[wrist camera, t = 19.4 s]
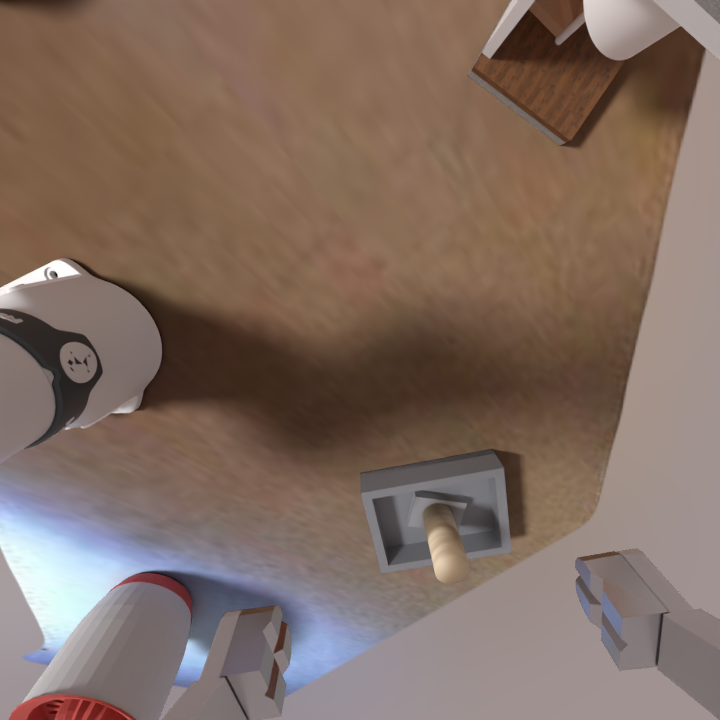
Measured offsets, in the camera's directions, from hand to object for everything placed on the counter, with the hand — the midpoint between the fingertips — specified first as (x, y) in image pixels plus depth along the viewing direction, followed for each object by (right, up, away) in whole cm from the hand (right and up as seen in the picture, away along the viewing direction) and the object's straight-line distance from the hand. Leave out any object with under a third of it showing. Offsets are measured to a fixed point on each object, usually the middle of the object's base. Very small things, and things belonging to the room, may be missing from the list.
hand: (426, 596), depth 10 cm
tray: (+9, -14, +41) cm, 44 cm away
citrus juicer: (-34, -32, +48) cm, 67 cm away
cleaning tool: (+9, -14, +40) cm, 43 cm away
